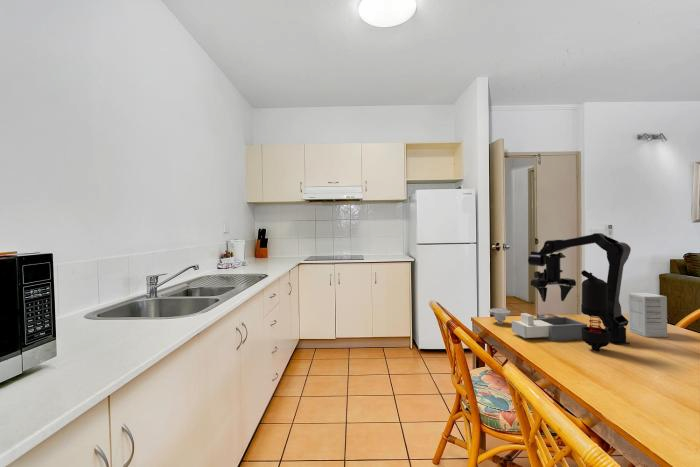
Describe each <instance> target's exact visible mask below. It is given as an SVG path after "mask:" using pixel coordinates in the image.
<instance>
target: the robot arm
mask: <svg viewBox="0 0 700 467" xmlns="http://www.w3.org/2000/svg"><path fill="white" fill-rule="evenodd" d="M591 244H596V246H598V247H600V248H601V249H602V250H604V251H605V252H606V258H607V261H608V272H607V278H606V283H608V284H607V285H609V286H610V287H612V288H613V289H614V291H613V292H608V316H606V317H601V318H599V320H600V321H601V323H602V324H603V327H604V329H606V330H609V331H610V332H611V334H610V343H609V344H613V345H629V344H630V341H628V340H627V328H626V327H627V326H628V322H629V321H628V318H626V317H625V316H624V315H623V314H622V306H621V303H620V292H621V287H622V286H621V285H622V279H623V278H622V277H623V272H624V266H625V264H626V263H627V261H628V259H629V256H630V254H631V250H632V249H631V247H630V245H629V244H628V243H626V242H623V241H622V242H621V241H618V240H617V239H614V238H612V237H609V236H607V235H605V234H604V233H601V232H595V233H592V234H588V235H582V236H577V237H572V238H571V237H570V238H567V239H549V240H545V241H544V243H543V246H542V247H541V249H540V251H532V250H531V251H530V254H529V256H528V258H527V262H528V264H529V266H535V267H536V266H537V267H545V268H544V269H543V272H541V271H534V272H533V276H534V278H532V279H531V280H530V286H532V287H533V288H536V290H537V291H538V292H539V295H540V298H541V301H542V302H543V303H546V300H547V292H548V287H547V286H549V285H550V286H551V285H554V286H555V285H558V286H559V289H560V301H561V302H564V301H565V300H566V298H567V296H568V294H569V293H570V291H571V290H572V289H573V288H574V287H576V286H577V282H576V280H575V279H573V278H569V277H568V278H567V277H561V273H563V272H564V271H563V270H562V269H561V259H565V258H566V257H567V256H566V255H564V254H563V253H562V251H565V250H567V249H570V248H575V247H579V246H580V247H581V246H585V245H591Z"/></svg>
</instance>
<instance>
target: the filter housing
mask: <svg viewBox="0 0 700 467" xmlns="http://www.w3.org/2000/svg"><path fill="white" fill-rule="evenodd" d="M544 315H551V316H554V318H547V317H544ZM534 320H542V321H544V322H547V323H549V324H552V325H549V337H543V338H544V339H547V340H549V341H551V342H557V341H559V340H560V341H571V340H572V341H574V340H573V339H577V340H583V339H582V330H581V328H582V327H588V324H587V323H584V322H581V321H578V320H576V319H573V318H570V317H567V316H558V315H555V314H552V313H543V314H542V313H541V314H536V318H535V317H534Z"/></svg>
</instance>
